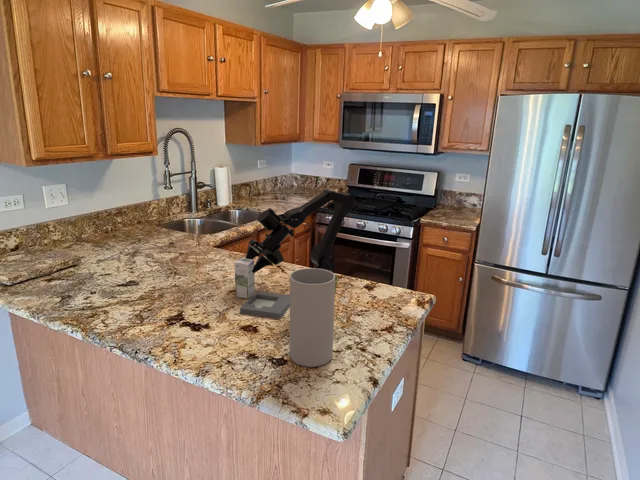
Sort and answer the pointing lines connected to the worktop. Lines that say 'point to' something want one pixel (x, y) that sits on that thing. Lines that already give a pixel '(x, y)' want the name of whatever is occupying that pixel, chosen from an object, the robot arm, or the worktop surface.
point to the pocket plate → (266, 305)
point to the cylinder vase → (311, 316)
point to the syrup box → (244, 278)
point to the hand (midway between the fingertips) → (248, 268)
